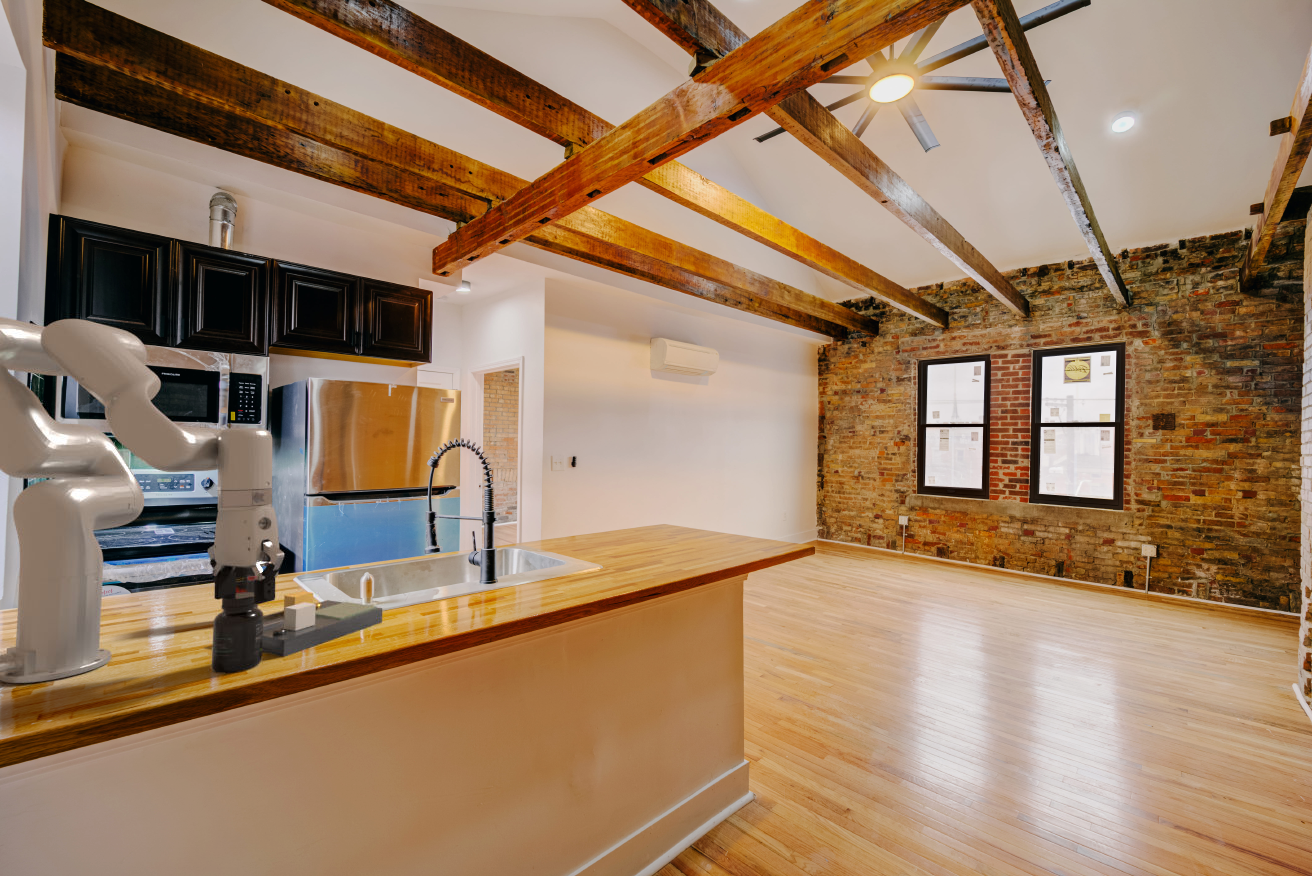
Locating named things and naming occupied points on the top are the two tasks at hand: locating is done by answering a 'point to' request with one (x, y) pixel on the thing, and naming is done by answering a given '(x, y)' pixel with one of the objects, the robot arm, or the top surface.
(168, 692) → the top surface
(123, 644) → the top surface
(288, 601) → the block
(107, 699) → the top surface
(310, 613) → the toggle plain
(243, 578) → the deodorant
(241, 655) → the supplement bottle
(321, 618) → the panel
